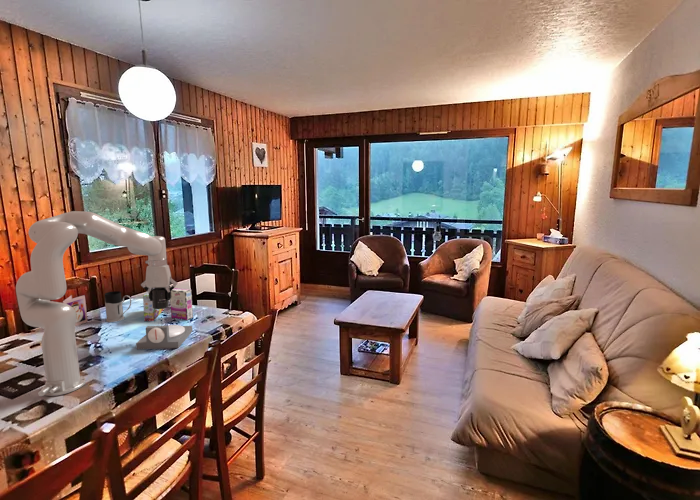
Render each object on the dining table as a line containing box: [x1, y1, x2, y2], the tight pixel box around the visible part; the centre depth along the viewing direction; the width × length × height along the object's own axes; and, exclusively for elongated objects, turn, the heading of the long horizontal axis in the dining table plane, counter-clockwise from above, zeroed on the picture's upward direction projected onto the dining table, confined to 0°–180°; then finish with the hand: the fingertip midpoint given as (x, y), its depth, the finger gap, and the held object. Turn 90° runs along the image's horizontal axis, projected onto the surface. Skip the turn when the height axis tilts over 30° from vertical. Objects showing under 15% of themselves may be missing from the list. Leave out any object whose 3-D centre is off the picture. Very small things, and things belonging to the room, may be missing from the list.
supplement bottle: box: [152, 288, 170, 310], centre depth 172 cm, size 7×7×12 cm
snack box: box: [142, 288, 165, 322], centre depth 208 cm, size 21×6×15 cm, turn 13°
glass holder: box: [104, 290, 132, 323], centre depth 200 cm, size 9×14×15 cm, turn 88°
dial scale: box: [135, 324, 193, 350], centre depth 173 cm, size 21×18×10 cm
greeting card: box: [62, 294, 88, 327], centre depth 191 cm, size 11×7×15 cm, turn 165°
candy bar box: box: [169, 287, 194, 321], centre depth 203 cm, size 11×5×16 cm, turn 73°
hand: (160, 299), depth 172 cm, fingers closed on supplement bottle, 6 cm apart
